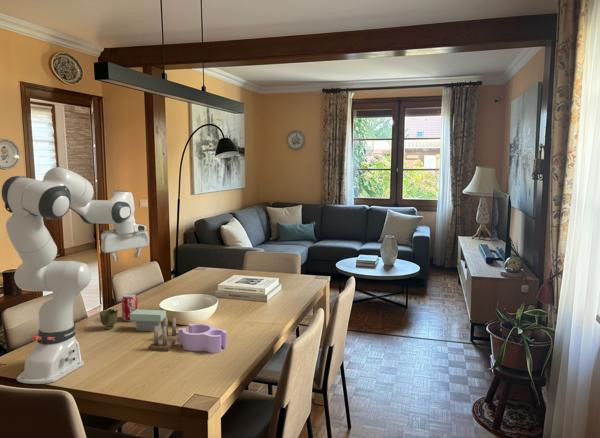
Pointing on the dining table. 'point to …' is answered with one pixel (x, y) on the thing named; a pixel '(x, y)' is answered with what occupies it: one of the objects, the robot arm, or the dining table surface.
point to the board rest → (147, 325)
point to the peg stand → (164, 337)
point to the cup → (108, 318)
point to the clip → (202, 338)
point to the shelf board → (148, 315)
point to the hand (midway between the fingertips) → (126, 259)
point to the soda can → (129, 305)
